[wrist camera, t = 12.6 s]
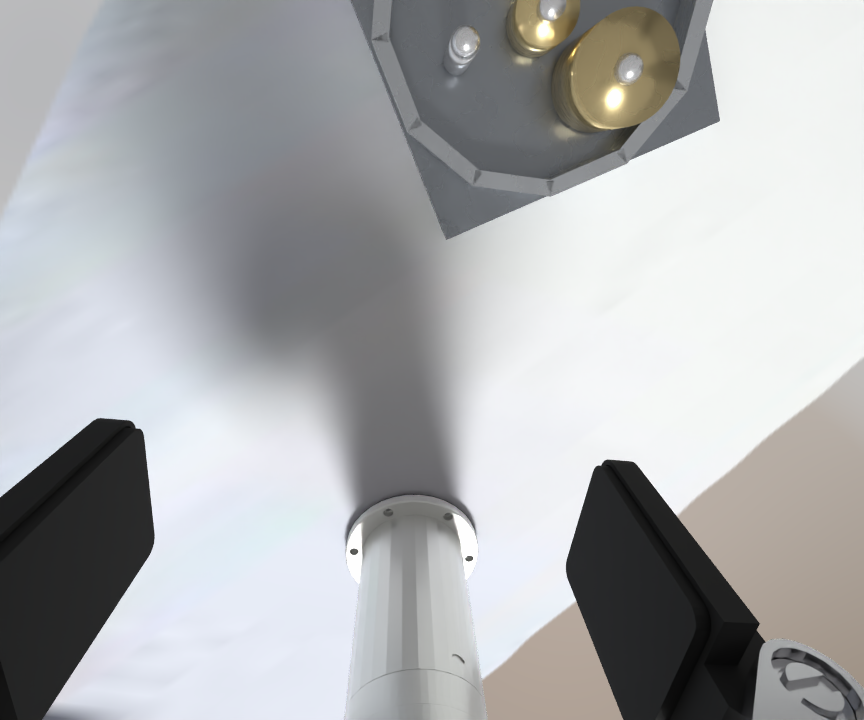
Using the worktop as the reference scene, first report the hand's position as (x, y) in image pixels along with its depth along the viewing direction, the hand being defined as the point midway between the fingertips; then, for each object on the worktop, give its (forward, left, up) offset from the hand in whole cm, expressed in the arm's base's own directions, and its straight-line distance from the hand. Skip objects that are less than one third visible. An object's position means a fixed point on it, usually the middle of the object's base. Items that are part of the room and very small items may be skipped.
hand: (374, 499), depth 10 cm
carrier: (+10, -14, -28) cm, 33 cm away
